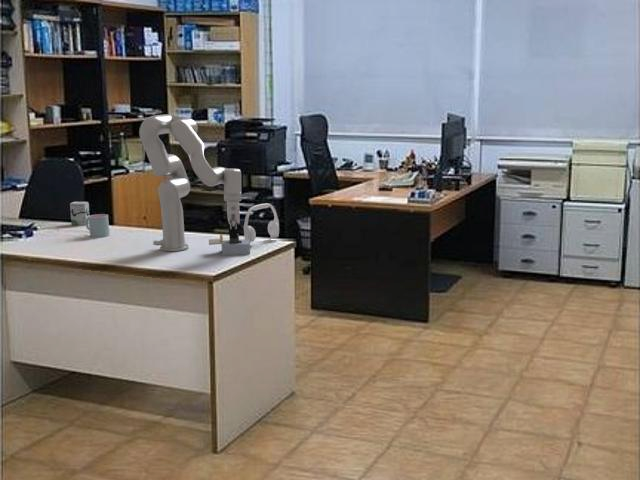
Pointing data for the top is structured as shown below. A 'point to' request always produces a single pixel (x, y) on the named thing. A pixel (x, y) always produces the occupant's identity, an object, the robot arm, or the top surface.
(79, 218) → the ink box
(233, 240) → the plug
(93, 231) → the mug
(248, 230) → the headset
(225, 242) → the socket
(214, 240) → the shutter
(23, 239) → the top surface
